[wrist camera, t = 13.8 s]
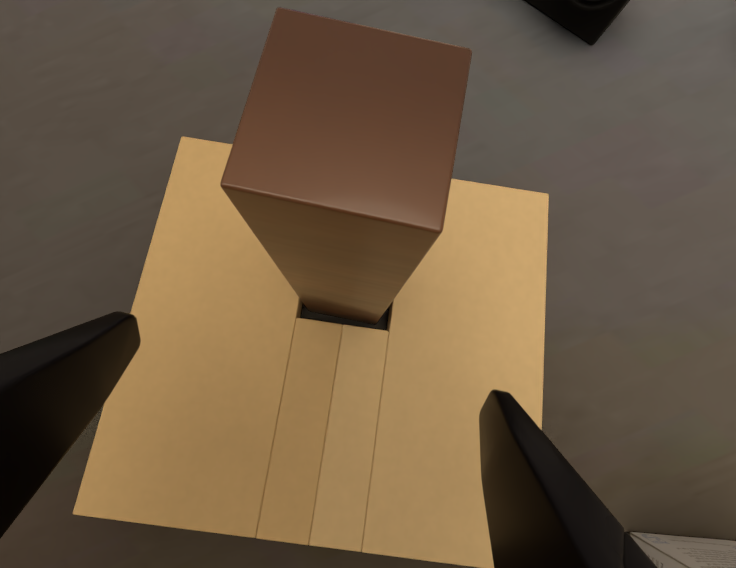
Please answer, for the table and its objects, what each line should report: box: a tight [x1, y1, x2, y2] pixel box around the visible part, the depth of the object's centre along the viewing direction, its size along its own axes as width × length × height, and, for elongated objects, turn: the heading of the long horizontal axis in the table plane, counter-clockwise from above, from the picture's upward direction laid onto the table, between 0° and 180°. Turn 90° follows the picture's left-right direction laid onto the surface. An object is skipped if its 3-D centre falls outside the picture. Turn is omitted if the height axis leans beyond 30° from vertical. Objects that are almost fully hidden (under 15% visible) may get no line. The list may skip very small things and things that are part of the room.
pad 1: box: [73, 137, 343, 545], centre depth 20 cm, size 20×11×2 cm, turn 172°
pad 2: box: [309, 179, 549, 568], centre depth 20 cm, size 20×11×2 cm, turn 172°
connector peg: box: [220, 7, 472, 325], centre depth 14 cm, size 4×4×15 cm
